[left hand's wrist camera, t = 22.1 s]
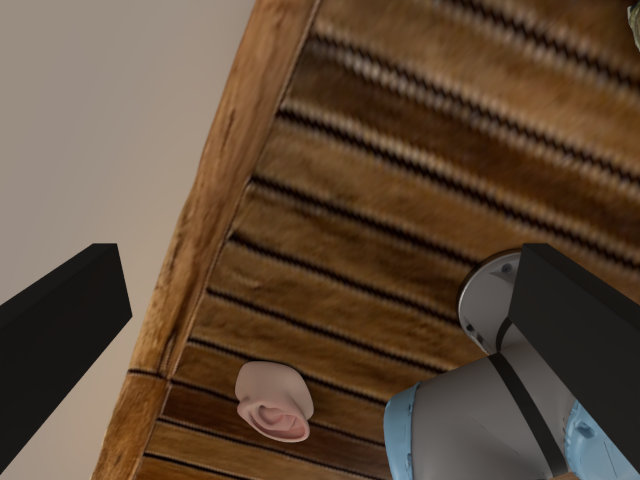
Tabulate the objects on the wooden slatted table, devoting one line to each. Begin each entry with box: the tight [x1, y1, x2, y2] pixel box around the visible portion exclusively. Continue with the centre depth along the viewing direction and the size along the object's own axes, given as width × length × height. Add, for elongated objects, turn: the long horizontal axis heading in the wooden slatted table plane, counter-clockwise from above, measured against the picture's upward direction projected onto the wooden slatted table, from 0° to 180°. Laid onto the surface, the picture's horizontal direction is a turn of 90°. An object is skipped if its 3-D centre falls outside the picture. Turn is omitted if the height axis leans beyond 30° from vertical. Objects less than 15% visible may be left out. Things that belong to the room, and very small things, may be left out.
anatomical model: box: [235, 361, 314, 442], centre depth 56 cm, size 13×4×12 cm
